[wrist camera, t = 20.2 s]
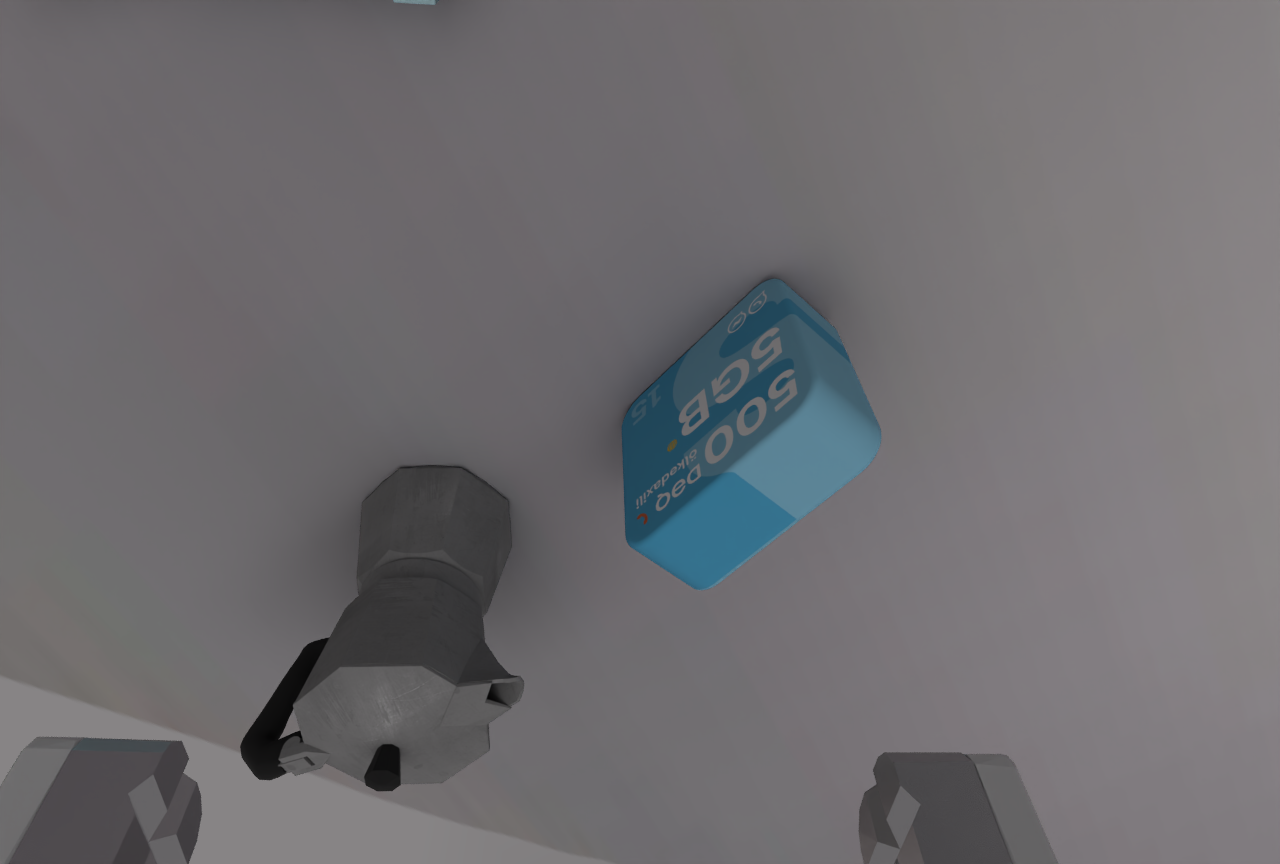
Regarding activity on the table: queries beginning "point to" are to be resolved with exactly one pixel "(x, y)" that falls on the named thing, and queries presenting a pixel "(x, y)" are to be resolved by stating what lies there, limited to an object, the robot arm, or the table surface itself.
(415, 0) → the tray
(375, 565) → the coffeepot
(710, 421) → the data package
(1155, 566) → the table surface
